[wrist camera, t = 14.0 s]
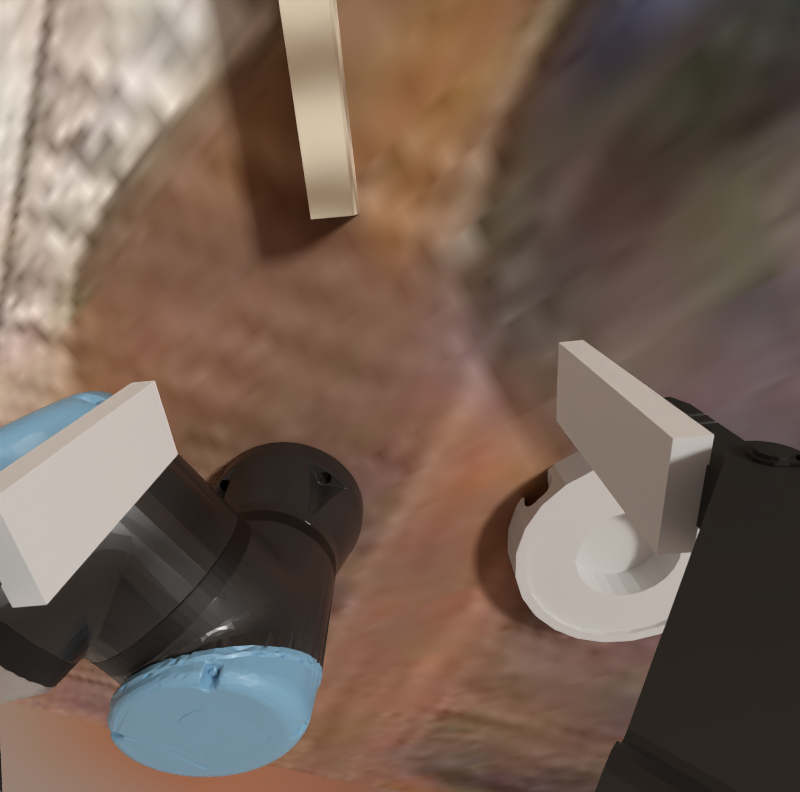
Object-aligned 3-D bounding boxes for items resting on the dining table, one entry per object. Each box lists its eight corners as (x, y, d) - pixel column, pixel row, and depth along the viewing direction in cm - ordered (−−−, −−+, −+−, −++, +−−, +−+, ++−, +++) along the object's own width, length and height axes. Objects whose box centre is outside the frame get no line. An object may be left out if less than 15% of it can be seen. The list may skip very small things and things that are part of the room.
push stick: (359, 213, 38) (353, 215, 33) (323, 217, 38) (310, 219, 33) (328, -73, 31) (313, -133, 26) (283, -69, 32) (260, -127, 26)
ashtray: (517, 626, 56) (526, 656, 52) (494, 459, 47) (502, 481, 44) (716, 596, 54) (740, 624, 51) (730, 418, 46) (759, 437, 42)
